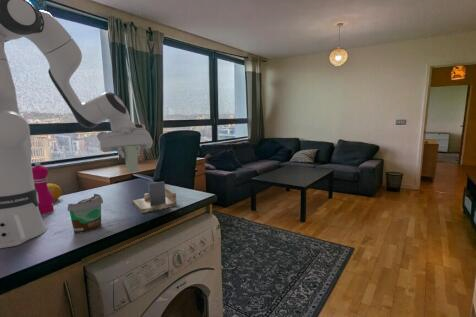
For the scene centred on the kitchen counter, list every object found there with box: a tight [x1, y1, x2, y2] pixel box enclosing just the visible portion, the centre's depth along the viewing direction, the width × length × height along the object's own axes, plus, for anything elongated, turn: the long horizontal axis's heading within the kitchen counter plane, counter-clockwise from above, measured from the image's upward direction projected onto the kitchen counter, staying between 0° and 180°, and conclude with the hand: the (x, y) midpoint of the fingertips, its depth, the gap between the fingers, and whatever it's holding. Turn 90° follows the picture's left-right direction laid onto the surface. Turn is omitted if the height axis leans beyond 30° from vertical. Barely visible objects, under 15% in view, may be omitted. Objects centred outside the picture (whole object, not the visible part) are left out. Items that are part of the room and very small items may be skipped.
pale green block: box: [123, 146, 139, 174], centre depth 109 cm, size 4×5×10 cm
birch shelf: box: [132, 186, 177, 214], centre depth 113 cm, size 14×14×6 cm
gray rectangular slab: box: [148, 181, 166, 206], centre depth 108 cm, size 6×1×9 cm, turn 124°
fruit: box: [47, 182, 62, 202], centre depth 120 cm, size 9×8×8 cm
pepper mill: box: [32, 161, 55, 215], centre depth 106 cm, size 7×7×20 cm
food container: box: [67, 193, 104, 234], centre depth 90 cm, size 12×6×10 cm, turn 168°
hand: (131, 156), depth 109 cm, fingers closed on pale green block, 4 cm apart
